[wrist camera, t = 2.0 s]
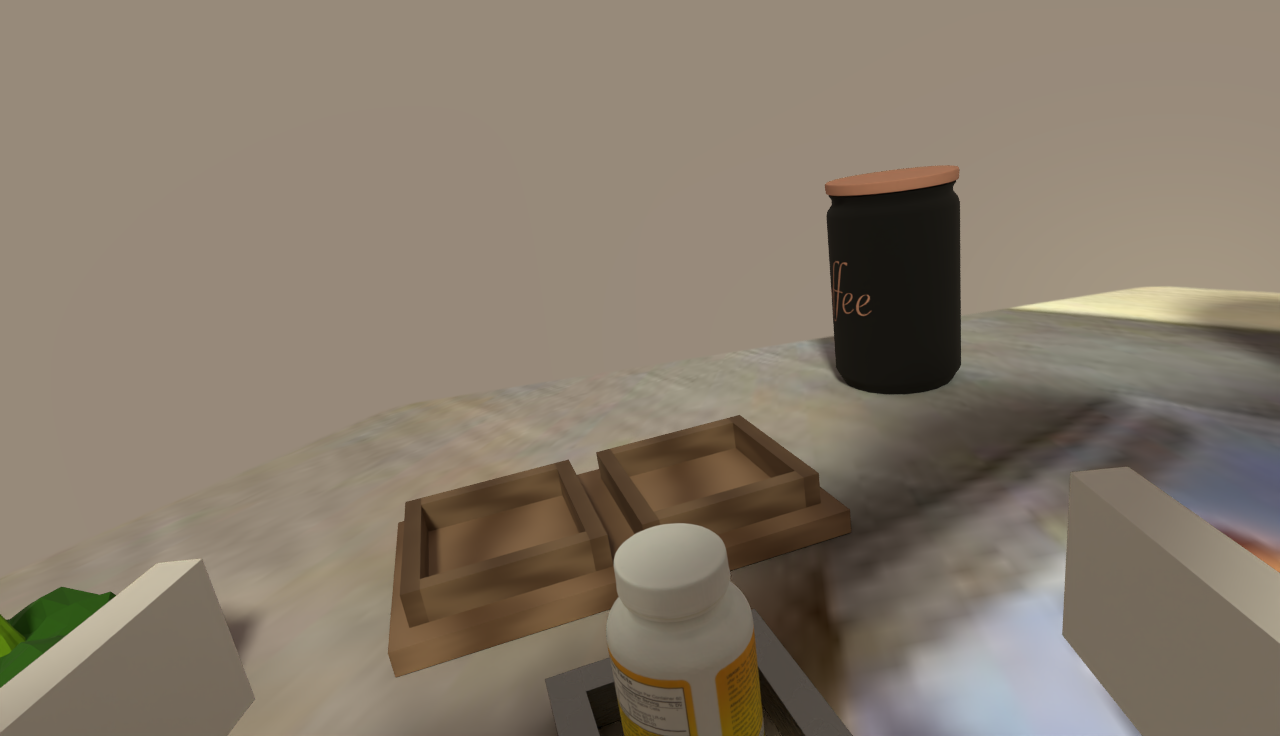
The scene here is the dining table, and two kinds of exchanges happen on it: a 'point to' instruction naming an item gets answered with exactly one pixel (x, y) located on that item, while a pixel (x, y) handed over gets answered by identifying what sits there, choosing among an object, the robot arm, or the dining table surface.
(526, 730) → the dining table surface
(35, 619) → the bell pepper
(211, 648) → the robot arm
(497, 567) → the walnut rack
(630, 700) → the supplement bottle
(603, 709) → the can holder
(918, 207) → the coffee jar
